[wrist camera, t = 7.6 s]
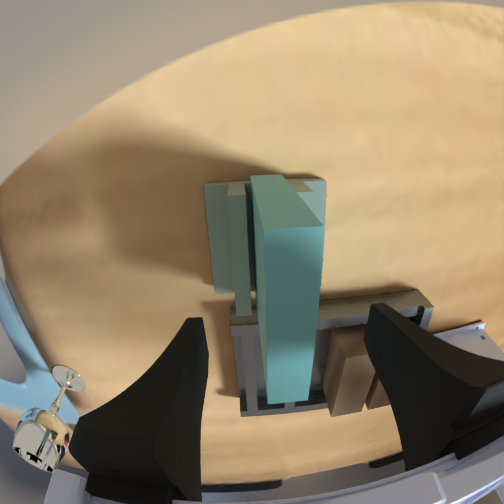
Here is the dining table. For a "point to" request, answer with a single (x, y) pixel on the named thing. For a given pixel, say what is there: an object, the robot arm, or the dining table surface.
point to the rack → (328, 317)
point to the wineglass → (46, 427)
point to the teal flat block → (286, 285)
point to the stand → (245, 233)
